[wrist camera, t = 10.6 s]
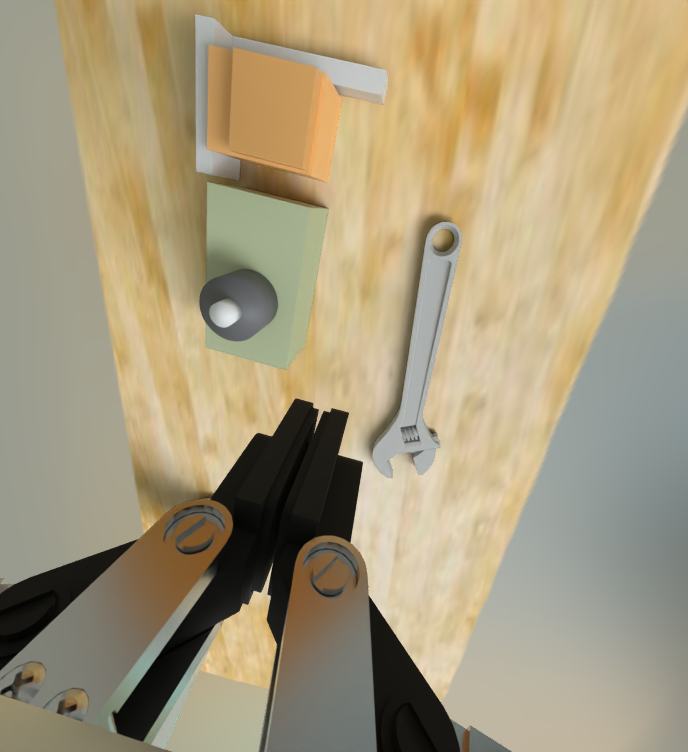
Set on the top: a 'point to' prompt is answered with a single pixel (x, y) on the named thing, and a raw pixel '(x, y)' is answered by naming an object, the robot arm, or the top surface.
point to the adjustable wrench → (421, 360)
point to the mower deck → (262, 225)
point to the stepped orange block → (271, 112)
